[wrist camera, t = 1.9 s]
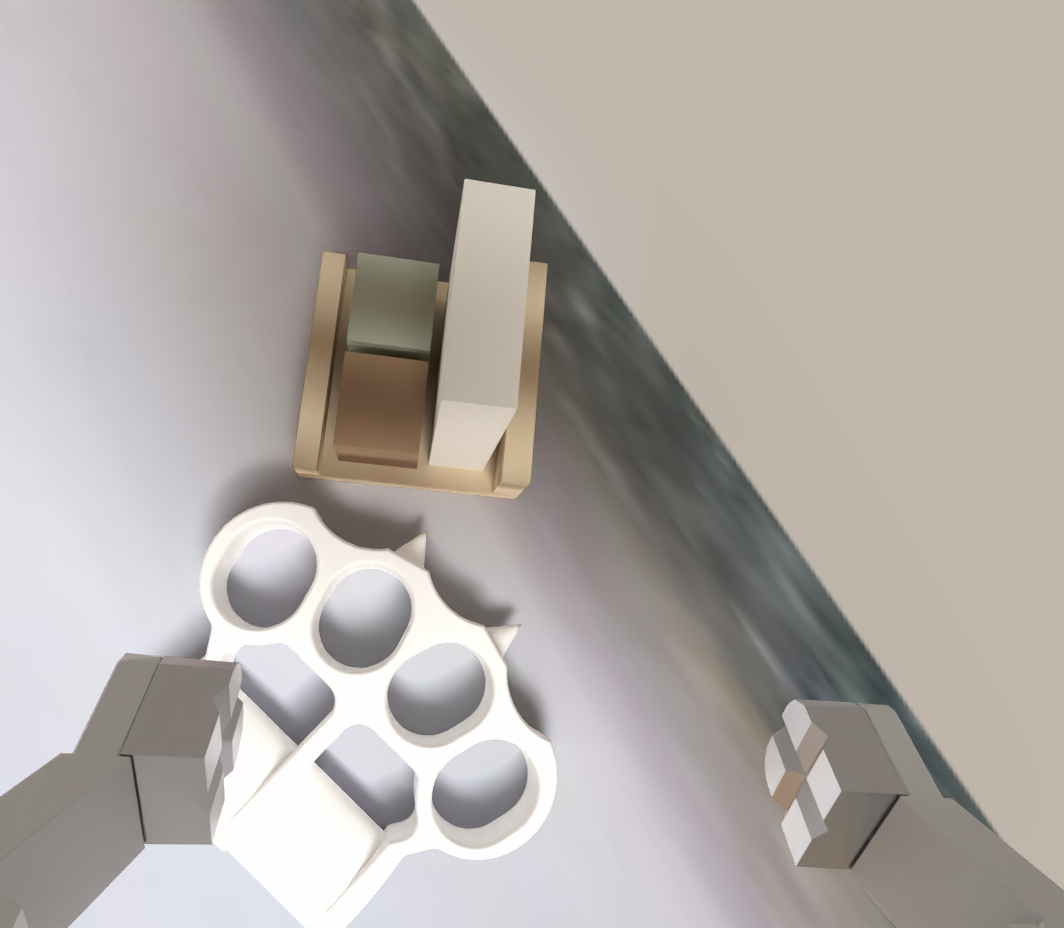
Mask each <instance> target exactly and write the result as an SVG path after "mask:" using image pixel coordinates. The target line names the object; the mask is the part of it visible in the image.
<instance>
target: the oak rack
mask: <svg viewBox="0 0 1064 928" xmlns="http://www.w3.org/2000/svg"><path fill="white" fill-rule="evenodd" d="M547 265H548V264H546V263H539V262H532V261H530V263H529V275H528V287H527V298H526V310H525V322H524V334H523V346H522V358H521V370H520V382H519V394H518V406H517V410H516V412H515V414H514V416H513V417H512V419H511V421H510V423H509V424H508V426H507V428H506V430H505V432H504V433H503V435H502V437H501V439H500V441H499V442H498V444H497V446H496V448H495V449H494V451H493V453H492V455H491V457H490V458H489V460H488V462H487V464H486V465H485V467H484V469H483V471H480V470H471V469H461V468H452V467H443V466H434V465H428V464H429V454H430V445H431V435H432V426H433V417H434V407H435V398H436V388H437V379H438V370H439V360H440V351H441V341H442V332H443V323H444V313H445V304H446V297H447V290H448V284H449V283H447V282H440V281H438V283H437V292H436V302H435V311H434V320H433V329H432V338H431V347H430V356H429V366H428V375H427V384H426V393H425V402H424V412H423V421H422V430H421V439H420V448H419V457H418V464H417V469H411V468H402V467H393V466H383V465H374V464H365V463H355V462H346V461H339V460H338V457H337V454H336V451H335V448H334V446H333V439H334V432H335V424H336V416H337V409H338V401H339V394H340V386H341V379H342V371H343V364H344V356H345V351H348V345H347V333H348V326H349V318H350V311H351V303H352V296H353V288H354V281H355V273H356V270H355V269H348V268H347V262H346V254H340V253H333V252H326V251H323V255H322V262H321V269H320V276H319V283H318V290H317V297H316V304H315V311H314V318H313V325H312V332H311V339H310V346H309V353H308V360H307V367H306V374H305V382H304V389H303V396H302V403H301V410H300V417H299V424H298V431H297V438H296V445H295V452H294V459H293V466H292V467H293V468H294V470H295V471H296V473H297V474H298V476H299V477H305V478H315V479H325V480H334V481H344V482H354V483H363V484H373V485H383V486H392V487H402V488H412V489H421V490H431V491H441V492H450V493H460V494H470V495H479V496H489V497H499V498H508V499H516V498H517V497H518V495H519V494H520V493H521V492H522V491H523V490H524V489H525V488H526V487H527V486H528V485H529V484H530V480H531V468H532V455H533V442H534V430H535V417H536V404H537V392H538V379H539V366H540V354H541V341H542V328H543V316H544V303H545V290H546V278H547ZM348 352H349V351H348Z"/></svg>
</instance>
